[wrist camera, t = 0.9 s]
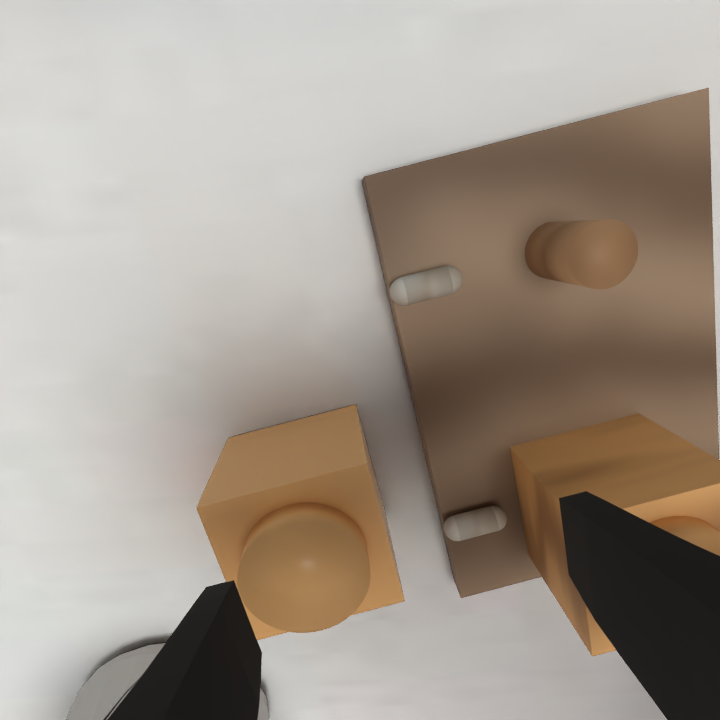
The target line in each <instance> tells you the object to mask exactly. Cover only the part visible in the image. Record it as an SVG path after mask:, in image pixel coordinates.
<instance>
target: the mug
mask: <svg viewBox="0 0 720 720" xmlns="http://www.w3.org/2000/svg"><path fill="white" fill-rule="evenodd" d="M164 645H165V643H161V644H152V645H147V646H144V647H141V648H138V649H135V650H133V651H130V652H127V653H124V654H121V655H118V656H117V657H115V658H114V659H112V660H110V661H109V662H107V663H106V664H104V665H103V666H101V667H99V668H98V669H97V670H96V672H95V673H94V674H93V675H92V676H91V677H90V678H89V679H88V681H87V682H86V683H85V684H84V685H83V687H82V688H81V689H80V691H79V692H78V693H77V696H76V698H75V700H74V703H73V705H72V707H71V709H70V712H69V714H68V716H67V719H66V720H107V719H108V718H109V717H110V715H111V714H112V713H113V712H114V710H115V709H116V708H117V707H118V705H119V704H120V703H121V702H122V700H123V699H124V698H125V697H126V695H127V694H128V693H129V691H130V690H131V689H132V688H133V686H134V685H135V684H136V683H137V681H138V680H139V679H140V677H141V676H142V675H143V673H144V672H145V671H146V669H147V668H148V667H149V665H150V664H151V662H152V661H153V660H154V658H155V657H156V656H157V654H158V653H159V652H160V650H161V649H162V647H163V646H164ZM257 720H269V712H268V706H267V700H266V697H265V695H264V693H263V691H262V689H261V687H260V702H259V712H258V719H257Z"/></svg>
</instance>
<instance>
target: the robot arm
mask: <svg viewBox="0 0 720 720" xmlns="http://www.w3.org/2000/svg"><path fill="white" fill-rule="evenodd" d="M559 503H560V511H561V518H562V526H563V534H564V542H565V550H566V558H567V566H568V574H569V576H570V578H571V580H572V582H573V583H574V585H575V587H576V589H577V590H578V592H579V594H580V596H581V597H582V599H583V601H584V603H585V604H586V606H587V608H588V609H589V611H590V613H591V614H592V616H593V618H594V620H595V621H596V623H597V624H598V625H599V627H600V628H601V630H602V631H603V632H604V634H605V635H606V636H607V638H608V639H609V641H610V642H611V643H612V645H613V646H614V647H615V649H616V650H617V652H618V653H619V654H620V656H621V657H622V658H623V660H624V661H625V663H626V664H627V665H628V667H629V668H630V669H631V671H632V672H633V673H634V675H635V676H636V677H637V679H638V680H639V682H640V683H641V684H642V686H643V687H644V688H645V690H646V691H647V692H648V694H649V695H650V696H651V698H652V699H653V701H654V702H655V703H656V705H657V706H658V707H659V709H660V710H661V711H662V713H663V714H664V715H665V717H666V718H667V720H720V556H719V555H716V554H714V553H712V552H710V551H708V550H705V549H703V548H701V547H699V546H697V545H694V544H692V543H690V542H688V541H686V540H684V539H682V538H680V537H678V536H675V535H673V534H671V533H669V532H667V531H665V530H663V529H661V528H659V527H657V526H655V525H653V524H651V523H649V522H647V521H645V520H643V519H641V518H639V517H637V516H635V515H633V514H631V513H629V512H627V511H625V510H623V509H621V508H619V507H617V506H615V505H613V504H612V503H610V502H608V501H606V500H604V499H602V498H600V497H598V496H595V495H593V494H591V493H589V492H587V491H585V492H581V493H577V494H573V495H569V496H565V497H561V498H559ZM261 656H262V652H261V650H260V647H259V645H258V642H257V639H256V637H255V634H254V631H253V629H252V626H251V624H250V621H249V618H248V616H247V613H246V610H245V608H244V605H243V603H242V600H241V597H240V595H239V592H238V589H237V587H236V584H235V581H234V580H233V581H229V582H225V583H221V584H217V585H213V586H209V587H206V588H205V590H204V591H203V592H202V594H201V595H200V596H199V598H198V599H197V600H196V602H195V603H194V604H193V606H192V607H191V609H190V610H189V611H188V613H187V614H186V616H185V617H184V618H183V620H182V621H181V623H180V624H179V625H178V627H177V628H176V630H175V631H174V632H173V634H172V635H171V636H170V638H169V639H168V641H167V642H166V643H165V645H164V646H163V647H162V649H161V650H160V652H159V653H158V654H157V656H156V657H155V658H154V660H153V661H152V662H151V664H150V665H149V667H148V668H147V669H146V671H145V672H144V673H143V675H142V676H141V677H140V679H139V680H138V681H137V683H136V684H135V685H134V686H133V688H132V689H131V690H130V691H129V693H128V694H127V695H126V697H125V698H124V699H123V700H122V702H121V703H120V704H119V705H118V707H117V708H116V709H115V710H114V712H113V713H112V714H111V715H110V717H109V718H108V719H107V720H257V719H258V712H259V702H260V684H261Z"/></svg>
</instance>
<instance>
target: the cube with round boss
mask: <svg viewBox="0 0 720 720" xmlns="http://www.w3.org/2000/svg"><path fill="white" fill-rule="evenodd" d="M197 511H198V513H199V516H200V518H201V521H202V523H203V526H204V528H205V531H206V533H207V536H208V538H209V541H210V543H211V546H212V548H213V550H214V553H215V555H216V558H217V560H218V563H219V565H220V568H221V570H222V573H223V575H224V578H225V580H226V582H229V581H233V580H234V581H235V584H236V587H237V589H238V592H239V595H240V597H241V600H242V603H243V605H244V608H245V610H246V613H247V616H248V618H249V621H250V624H251V626H252V629H253V631H254V634H255V637H256V639H257V640H260V639H263V638H267V637H271V636H275V635H278V634H282V633H286V632H296V633H307V632H315V631H320V630H324V629H327V628H330V627H332V626H335V625H337V624H339V623H340V622H342V621H344V620H345V619H347V618H348V617H349V616H351V615H354V614H358V613H362V612H365V611H369V610H373V609H377V608H380V607H384V606H388V605H392V604H396V603H399V602H403V601H404V596H403V591H402V587H401V582H400V578H399V573H398V569H397V564H396V560H395V555H394V551H393V546H392V541H391V537H390V532H389V528H388V523H387V519H386V514H385V510H384V507H383V503H382V499H381V496H380V492H379V488H378V485H377V481H376V477H375V473H374V470H373V466H372V462H371V459H370V455H369V451H368V447H367V444H366V440H365V436H364V433H363V429H362V425H361V422H360V418H359V414H358V410H357V407H356V404H355V405H351V406H348V407H344V408H340V409H336V410H332V411H328V412H325V413H321V414H317V415H313V416H309V417H306V418H302V419H298V420H294V421H290V422H286V423H283V424H279V425H275V426H271V427H267V428H264V429H260V430H256V431H252V432H248V433H244V434H241V435H237V436H233V437H229V438H228V440H227V442H226V444H225V446H224V448H223V450H222V453H221V455H220V457H219V459H218V461H217V464H216V466H215V468H214V470H213V472H212V475H211V477H210V479H209V481H208V483H207V486H206V488H205V490H204V492H203V494H202V497H201V499H200V501H199V503H198V505H197Z"/></svg>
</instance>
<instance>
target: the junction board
mask: <svg viewBox="0 0 720 720" xmlns="http://www.w3.org/2000/svg"><path fill="white" fill-rule="evenodd" d="M362 184H363V189H364V193H365V197H366V202H367V206H368V210H369V215H370V219H371V223H372V228H373V232H374V236H375V241H376V245H377V249H378V254H379V258H380V262H381V267H382V271H383V275H384V280H385V284H386V288H387V293H388V297H389V301H390V306H391V310H392V314H393V318H394V323H395V327H396V331H397V336H398V340H399V344H400V349H401V353H402V357H403V362H404V366H405V370H406V375H407V379H408V383H409V388H410V392H411V396H412V401H413V405H414V409H415V414H416V418H417V422H418V427H419V431H420V435H421V440H422V444H423V448H424V453H425V457H426V461H427V466H428V470H429V474H430V478H431V483H432V487H433V491H434V496H435V500H436V504H437V509H438V513H439V517H440V522H441V526H442V530H443V535H444V539H445V543H446V548H447V552H448V556H449V561H450V565H451V569H452V574H453V578H454V581H455V584H456V586H457V589H458V592H459V594H460V597H461V598H463V597H467V596H471V595H474V594H478V593H482V592H486V591H490V590H493V589H497V588H501V587H505V586H508V585H512V584H516V583H520V582H524V581H527V580H531V579H535V578H539V577H543V579H544V581H545V582H546V584H547V585H548V587H549V588H550V590H551V592H552V593H553V595H554V596H555V598H556V600H557V601H558V603H559V604H560V606H561V607H562V609H563V611H564V612H565V614H566V615H567V617H568V619H569V620H570V622H571V623H572V625H573V626H574V628H575V630H576V631H577V633H578V634H579V636H580V638H581V639H582V641H583V642H584V644H585V645H586V647H587V649H588V650H589V652H590V653H591V655H592V656H596V655H600V654H603V653H607V652H611V651H615V650H616V649H615V647H614V646H613V645H612V643H611V642H610V641H609V639H608V638H607V636H606V635H605V634H604V632H603V631H602V630H601V628H600V627H599V625H598V624H597V623H596V621H595V620H594V618H593V616H592V614H591V613H590V611H589V609H588V608H587V606H586V604H585V603H584V601H583V599H582V597H581V596H580V594H579V592H578V590H577V589H576V587H575V585H574V583H573V582H572V580H571V578H570V576H569V574H568V566H567V558H566V550H565V542H564V534H563V526H562V518H561V511H560V503H559V498H561V497H565V496H569V495H573V494H577V493H581V492H585V491H587V492H589V493H591V494H593V495H595V496H598V497H600V498H602V499H604V500H606V501H608V502H610V503H612V504H613V505H615V506H617V507H619V508H621V509H623V510H625V511H627V512H629V513H631V514H633V515H635V516H637V517H639V518H641V519H643V520H645V521H647V522H649V523H651V524H653V525H655V526H657V527H659V528H661V529H663V530H665V531H667V532H669V533H671V534H673V535H675V536H678V537H680V538H682V539H684V540H686V541H688V542H690V543H692V544H694V545H697V546H699V547H701V548H703V549H705V550H708V551H710V552H712V553H714V554H716V555H719V556H720V460H719V442H718V406H717V370H716V335H715V299H714V263H713V227H712V192H711V156H710V120H709V88H706V89H702V90H698V91H694V92H690V93H686V94H682V95H679V96H675V97H671V98H667V99H663V100H659V101H655V102H651V103H648V104H644V105H640V106H636V107H632V108H628V109H624V110H621V111H617V112H613V113H609V114H605V115H601V116H597V117H593V118H590V119H586V120H582V121H578V122H574V123H570V124H566V125H563V126H559V127H555V128H551V129H547V130H543V131H539V132H535V133H532V134H528V135H524V136H520V137H516V138H512V139H508V140H505V141H501V142H497V143H493V144H489V145H485V146H481V147H477V148H474V149H470V150H466V151H462V152H458V153H454V154H450V155H447V156H443V157H439V158H435V159H431V160H427V161H423V162H419V163H416V164H412V165H408V166H404V167H400V168H396V169H392V170H389V171H385V172H381V173H377V174H373V175H369V176H365V177H364V178H363V179H362Z"/></svg>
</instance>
